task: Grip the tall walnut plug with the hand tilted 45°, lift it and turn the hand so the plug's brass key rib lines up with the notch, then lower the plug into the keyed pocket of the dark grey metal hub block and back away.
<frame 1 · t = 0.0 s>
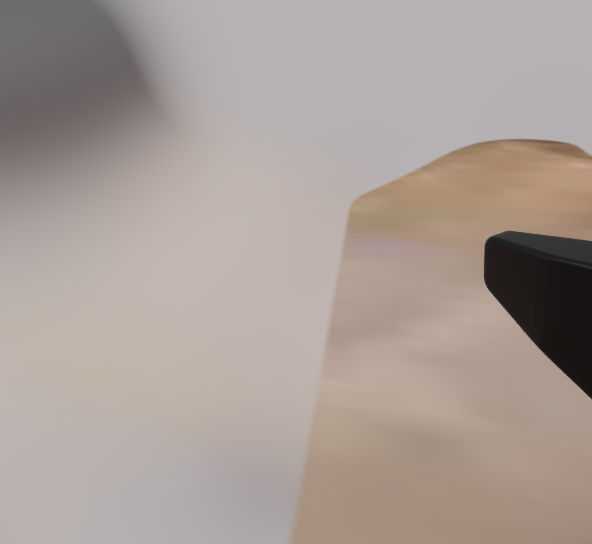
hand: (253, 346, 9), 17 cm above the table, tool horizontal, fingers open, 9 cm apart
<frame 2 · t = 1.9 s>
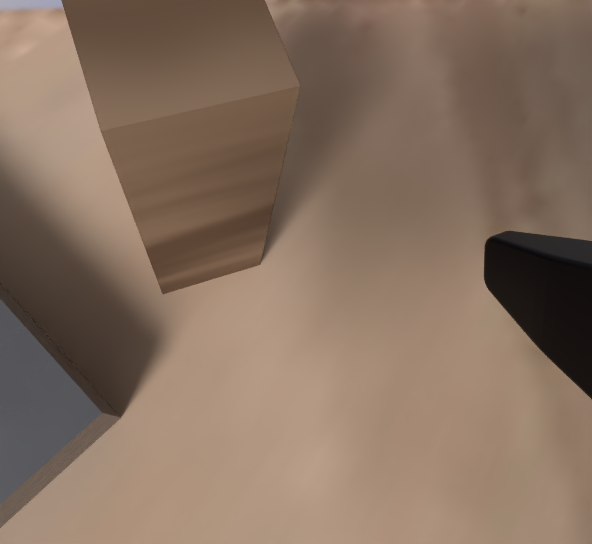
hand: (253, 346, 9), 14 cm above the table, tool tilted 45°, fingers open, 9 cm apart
keyed plug: (197, 234, 24), on the table
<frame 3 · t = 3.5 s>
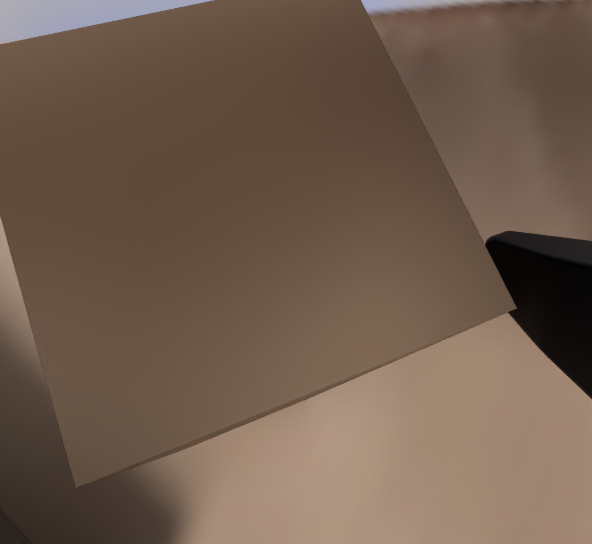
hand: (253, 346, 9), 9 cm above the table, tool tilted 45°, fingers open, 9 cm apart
keyed plug: (223, 357, 17), on the table
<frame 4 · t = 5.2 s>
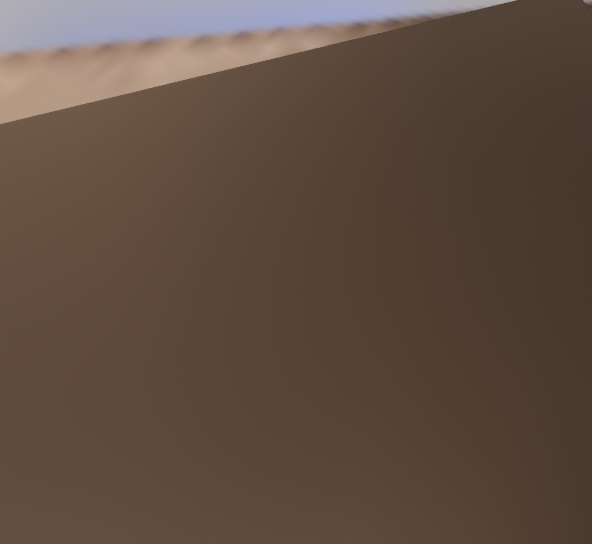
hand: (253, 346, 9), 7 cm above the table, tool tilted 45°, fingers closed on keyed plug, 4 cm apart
keyed plug: (255, 431, 14), on the table, touching gripper
when the fingers open (8 cm above the table, at t = 10.4 s): keyed plug drops 1 cm, resting in hub block.
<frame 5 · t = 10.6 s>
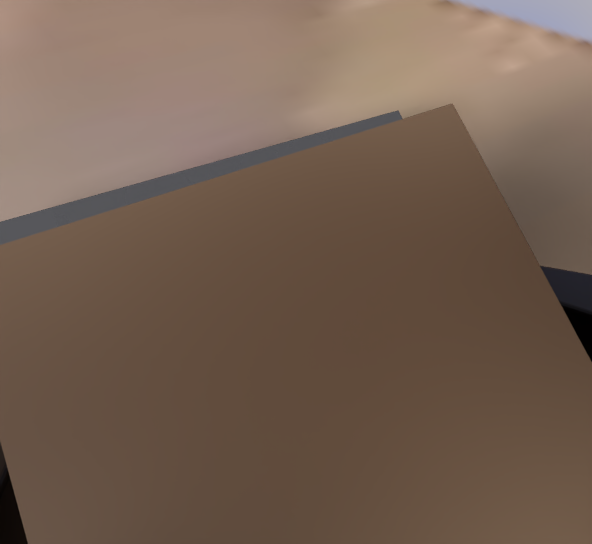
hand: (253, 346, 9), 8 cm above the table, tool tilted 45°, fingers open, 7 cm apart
hub block: (251, 431, 16), on the table
keyed plug: (252, 428, 16), resting in hub block
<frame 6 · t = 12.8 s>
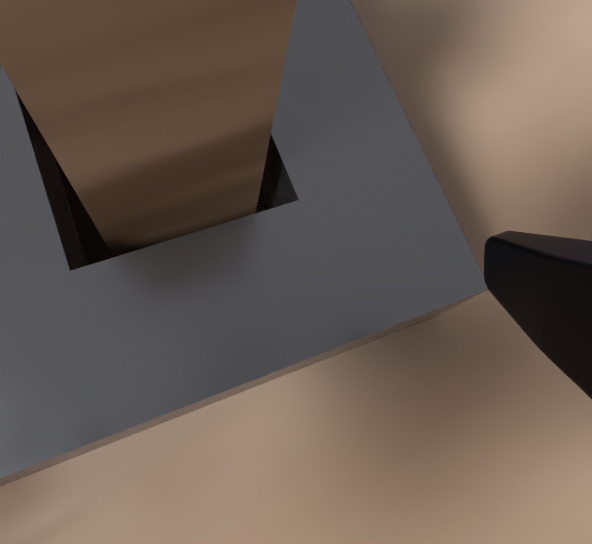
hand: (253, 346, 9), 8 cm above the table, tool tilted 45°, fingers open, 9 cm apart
hub block: (165, 189, 17), on the table
keyed plug: (166, 187, 17), resting in hub block
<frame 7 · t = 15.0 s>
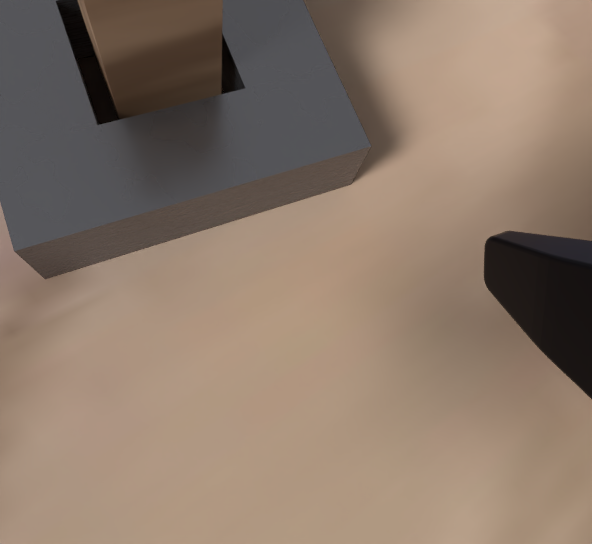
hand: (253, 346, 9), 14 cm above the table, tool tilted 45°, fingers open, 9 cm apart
hub block: (159, 96, 25), on the table
keyed plug: (160, 95, 25), resting in hub block
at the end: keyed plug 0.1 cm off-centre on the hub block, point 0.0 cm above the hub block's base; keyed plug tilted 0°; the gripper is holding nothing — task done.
